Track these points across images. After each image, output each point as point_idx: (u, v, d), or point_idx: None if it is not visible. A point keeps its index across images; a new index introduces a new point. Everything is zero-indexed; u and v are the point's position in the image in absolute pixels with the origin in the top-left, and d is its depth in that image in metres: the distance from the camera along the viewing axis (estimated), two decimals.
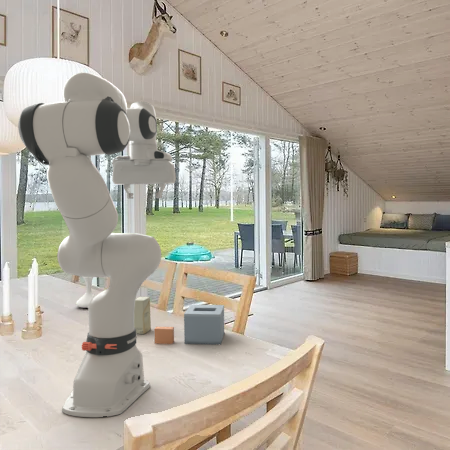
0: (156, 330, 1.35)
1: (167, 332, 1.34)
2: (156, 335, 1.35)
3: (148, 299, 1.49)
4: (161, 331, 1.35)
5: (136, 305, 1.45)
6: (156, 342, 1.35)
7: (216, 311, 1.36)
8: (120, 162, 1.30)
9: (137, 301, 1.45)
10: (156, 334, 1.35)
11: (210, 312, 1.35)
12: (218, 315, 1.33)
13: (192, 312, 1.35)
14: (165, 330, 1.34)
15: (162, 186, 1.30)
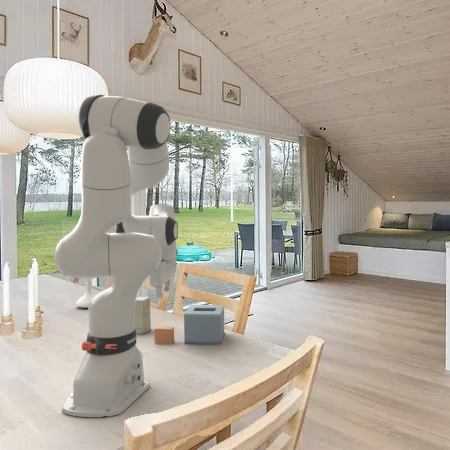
0: (156, 330, 1.35)
1: (167, 332, 1.34)
2: (156, 335, 1.35)
3: (148, 299, 1.49)
4: (161, 331, 1.35)
5: (136, 305, 1.45)
6: (156, 342, 1.35)
7: (216, 311, 1.36)
8: (162, 264, 1.27)
9: (137, 301, 1.45)
10: (156, 334, 1.35)
11: (210, 312, 1.35)
12: (218, 315, 1.33)
13: (192, 312, 1.35)
14: (165, 330, 1.34)
15: (170, 279, 1.41)
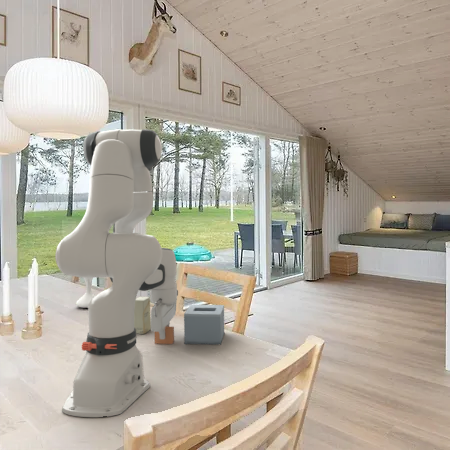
0: None
1: (167, 332, 1.34)
2: (156, 335, 1.35)
3: (148, 299, 1.48)
4: None
5: (136, 305, 1.45)
6: (156, 342, 1.35)
7: (216, 311, 1.36)
8: (163, 308, 1.28)
9: (137, 301, 1.45)
10: (156, 334, 1.35)
11: (210, 312, 1.35)
12: (218, 315, 1.33)
13: (192, 312, 1.35)
14: (165, 330, 1.34)
15: (169, 322, 1.39)
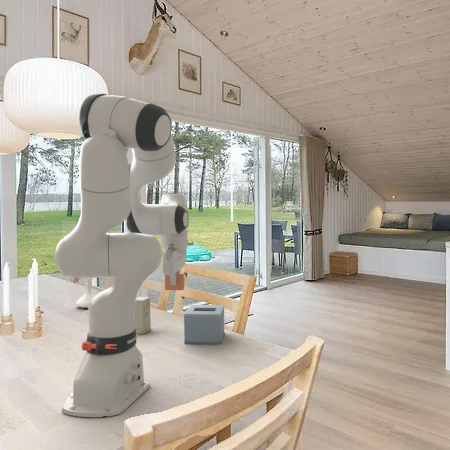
0: (167, 276, 1.35)
1: (177, 278, 1.35)
2: (166, 281, 1.35)
3: (148, 299, 1.49)
4: None
5: (136, 305, 1.45)
6: (166, 288, 1.35)
7: (216, 311, 1.36)
8: (175, 252, 1.28)
9: (137, 301, 1.45)
10: (166, 280, 1.35)
11: (210, 312, 1.35)
12: (218, 315, 1.33)
13: (192, 312, 1.35)
14: (176, 276, 1.35)
15: (179, 270, 1.39)
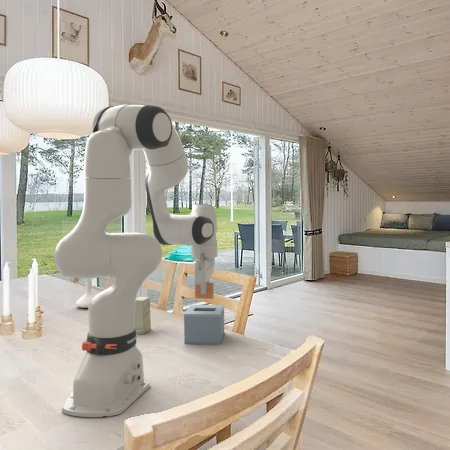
0: (197, 285, 1.38)
1: (207, 287, 1.37)
2: (197, 290, 1.38)
3: (148, 299, 1.48)
4: None
5: (136, 305, 1.45)
6: (197, 297, 1.38)
7: (216, 311, 1.36)
8: (206, 262, 1.31)
9: (137, 301, 1.45)
10: (197, 289, 1.38)
11: (210, 312, 1.35)
12: (218, 315, 1.33)
13: (192, 312, 1.35)
14: (206, 285, 1.37)
15: None
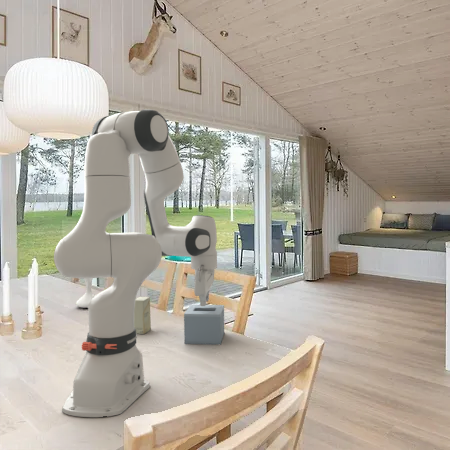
0: None
1: None
2: None
3: (148, 299, 1.49)
4: None
5: (136, 305, 1.45)
6: None
7: (216, 311, 1.36)
8: (206, 273, 1.31)
9: (137, 301, 1.45)
10: None
11: (210, 312, 1.35)
12: (218, 315, 1.33)
13: (192, 312, 1.35)
14: None
15: None
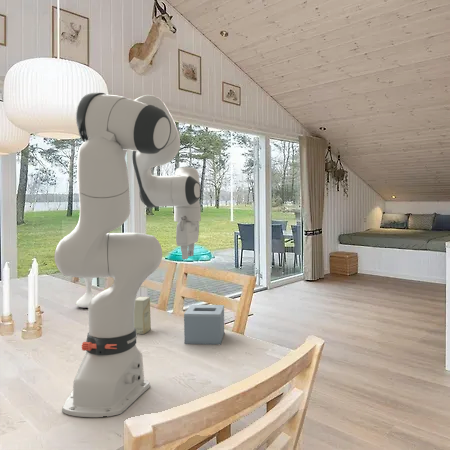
0: None
1: None
2: None
3: (148, 299, 1.49)
4: None
5: (136, 305, 1.45)
6: None
7: (216, 311, 1.36)
8: (188, 224, 1.29)
9: (137, 301, 1.45)
10: None
11: (210, 312, 1.35)
12: (218, 315, 1.33)
13: (192, 312, 1.35)
14: None
15: None
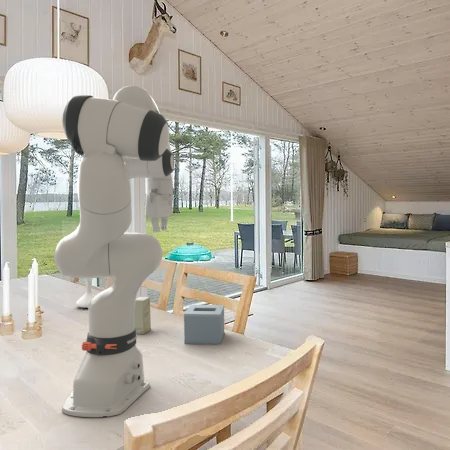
0: None
1: None
2: None
3: (148, 299, 1.49)
4: None
5: (136, 305, 1.45)
6: None
7: (216, 311, 1.36)
8: (159, 196, 1.27)
9: (137, 301, 1.45)
10: None
11: (210, 312, 1.35)
12: (218, 315, 1.33)
13: (192, 312, 1.35)
14: None
15: (167, 219, 1.41)
